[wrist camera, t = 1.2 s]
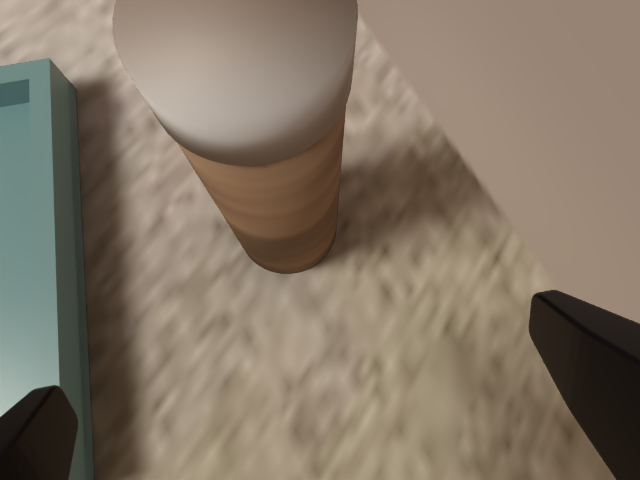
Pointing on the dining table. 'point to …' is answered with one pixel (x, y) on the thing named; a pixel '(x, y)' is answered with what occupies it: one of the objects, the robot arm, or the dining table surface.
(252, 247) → the shaker
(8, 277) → the tray
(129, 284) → the dining table surface
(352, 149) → the dining table surface
